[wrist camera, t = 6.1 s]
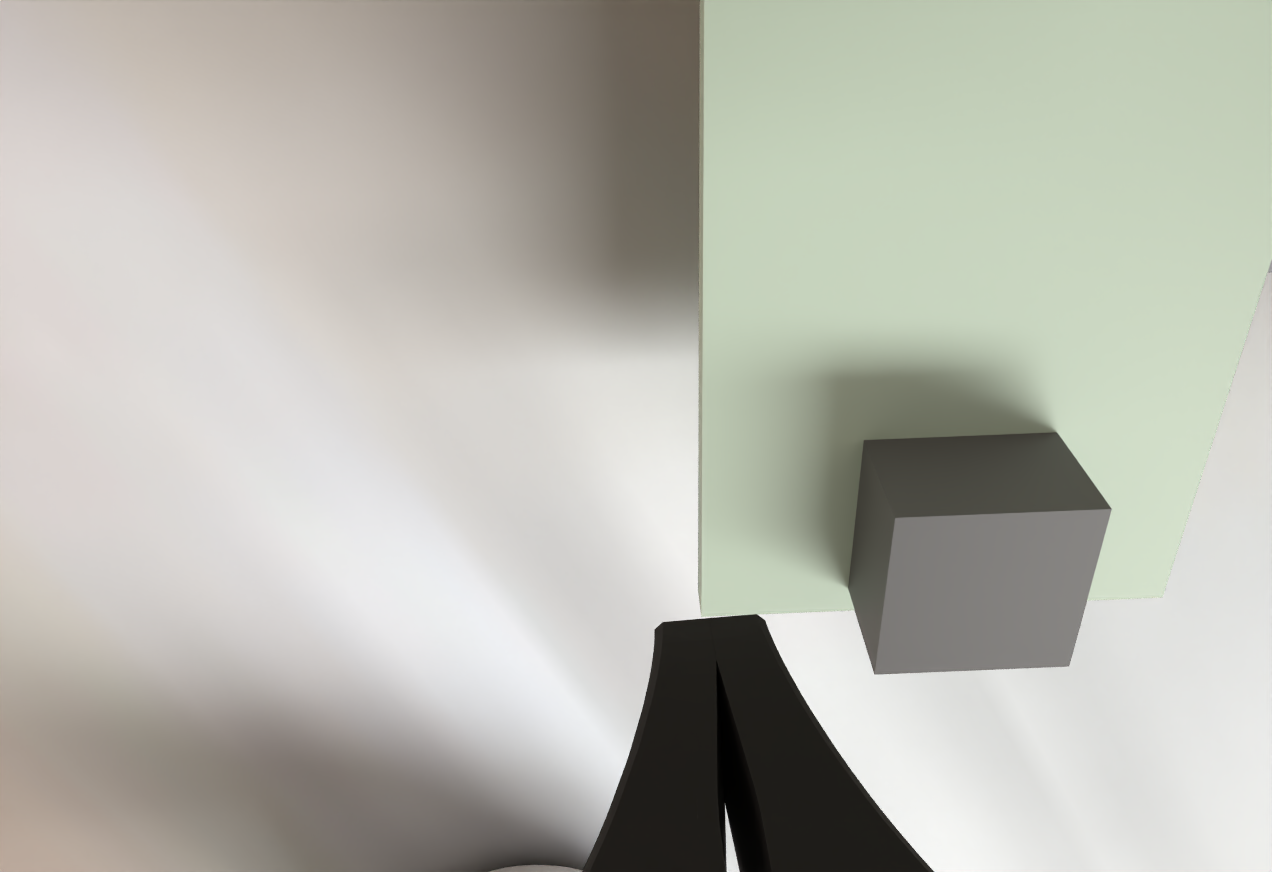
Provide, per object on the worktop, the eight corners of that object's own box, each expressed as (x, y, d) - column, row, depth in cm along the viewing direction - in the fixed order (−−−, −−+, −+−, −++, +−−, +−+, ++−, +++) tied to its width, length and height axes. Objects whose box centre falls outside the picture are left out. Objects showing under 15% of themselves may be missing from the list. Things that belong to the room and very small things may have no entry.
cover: (1144, 571, 18) (1221, 682, 16) (698, 589, 18) (711, 703, 16) (1520, -658, 10) (1794, -793, 8) (701, -630, 10) (731, -758, 8)
